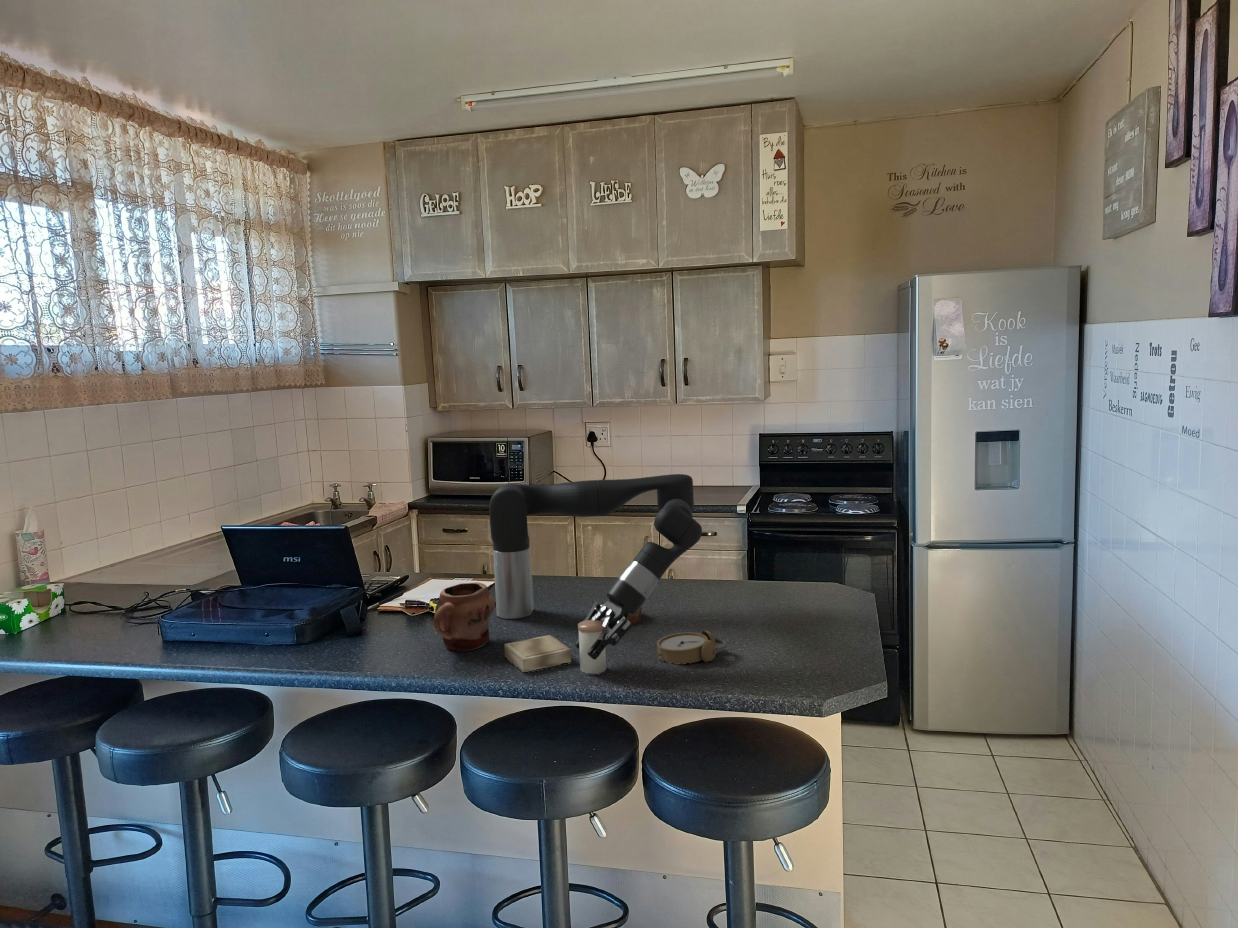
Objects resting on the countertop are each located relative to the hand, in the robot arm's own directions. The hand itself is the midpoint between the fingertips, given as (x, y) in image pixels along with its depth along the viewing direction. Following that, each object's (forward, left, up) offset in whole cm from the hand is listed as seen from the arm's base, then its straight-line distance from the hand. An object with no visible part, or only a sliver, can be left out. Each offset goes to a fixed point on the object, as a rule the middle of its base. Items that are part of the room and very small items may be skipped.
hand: (584, 652), depth 174 cm
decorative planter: (-3, -33, -5) cm, 33 cm away
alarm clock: (-16, +17, -5) cm, 24 cm away
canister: (-1, +1, -4) cm, 5 cm away
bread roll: (-34, -7, -5) cm, 35 cm away
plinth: (-2, -13, -4) cm, 14 cm away
